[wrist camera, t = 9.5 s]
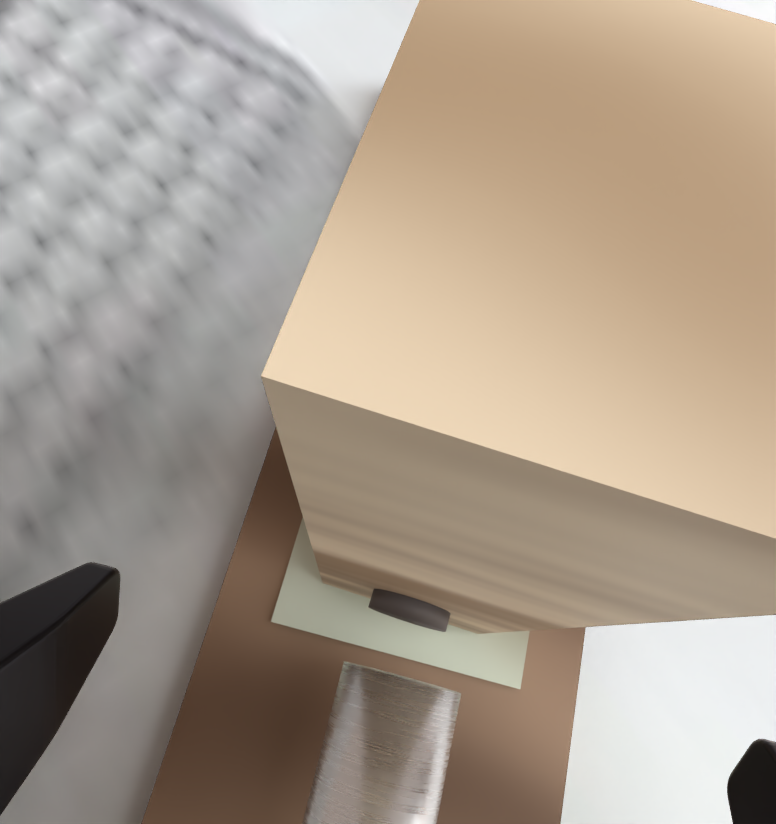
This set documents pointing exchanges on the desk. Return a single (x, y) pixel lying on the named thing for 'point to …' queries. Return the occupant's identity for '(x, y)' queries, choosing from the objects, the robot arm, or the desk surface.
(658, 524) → the tan wood post
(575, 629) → the base board
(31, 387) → the desk surface
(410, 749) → the shafts
